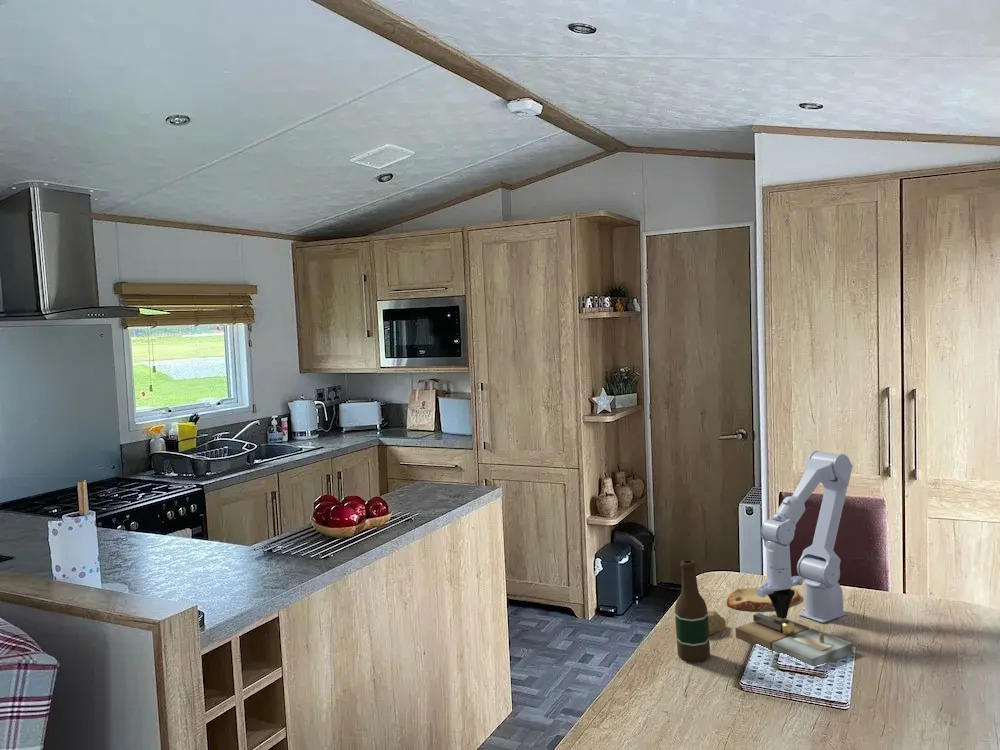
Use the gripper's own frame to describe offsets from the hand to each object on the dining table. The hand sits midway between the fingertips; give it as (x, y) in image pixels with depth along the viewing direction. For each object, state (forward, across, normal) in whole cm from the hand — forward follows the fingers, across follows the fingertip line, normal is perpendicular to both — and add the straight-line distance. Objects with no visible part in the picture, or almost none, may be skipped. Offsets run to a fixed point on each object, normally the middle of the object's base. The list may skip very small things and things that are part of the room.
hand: (781, 617), depth 210 cm
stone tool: (+4, +15, -12) cm, 20 cm away
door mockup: (+3, +6, +7) cm, 9 cm away
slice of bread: (+4, -12, -17) cm, 21 cm away
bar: (+1, +6, +2) cm, 6 cm away
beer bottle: (+3, +28, -2) cm, 29 cm away
